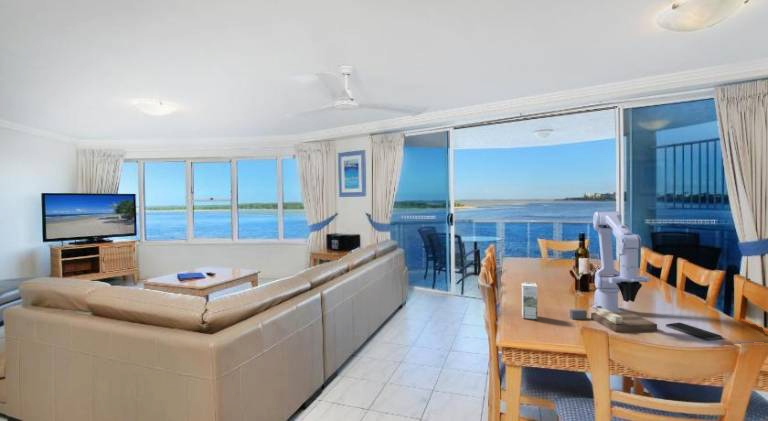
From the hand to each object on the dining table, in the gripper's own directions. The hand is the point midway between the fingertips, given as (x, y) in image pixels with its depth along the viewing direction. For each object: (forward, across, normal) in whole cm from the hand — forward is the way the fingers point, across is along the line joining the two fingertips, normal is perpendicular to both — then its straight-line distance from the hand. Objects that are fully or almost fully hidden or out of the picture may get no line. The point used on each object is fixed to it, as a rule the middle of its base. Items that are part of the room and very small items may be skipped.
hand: (628, 301), depth 138 cm
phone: (+11, +20, -6) cm, 24 cm away
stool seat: (+10, 0, +4) cm, 11 cm away
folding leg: (+8, -6, +3) cm, 10 cm away
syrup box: (+11, -32, +15) cm, 37 cm away
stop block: (+10, -13, +12) cm, 20 cm away
